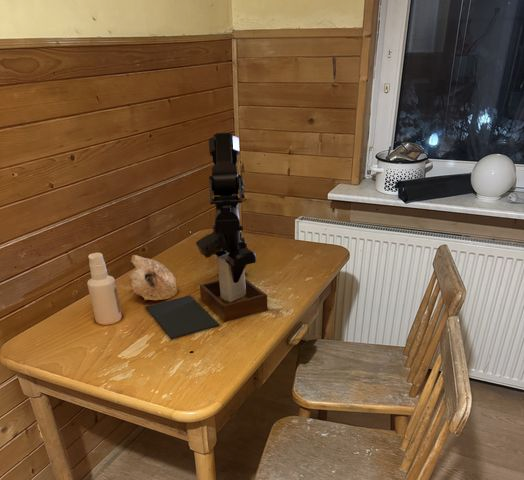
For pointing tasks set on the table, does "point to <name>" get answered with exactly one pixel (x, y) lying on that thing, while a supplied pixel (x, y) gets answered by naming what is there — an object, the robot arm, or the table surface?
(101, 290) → the spray bottle
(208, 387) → the table surface
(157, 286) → the beige seashell
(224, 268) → the cosmetic box
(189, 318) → the mat
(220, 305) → the crate
